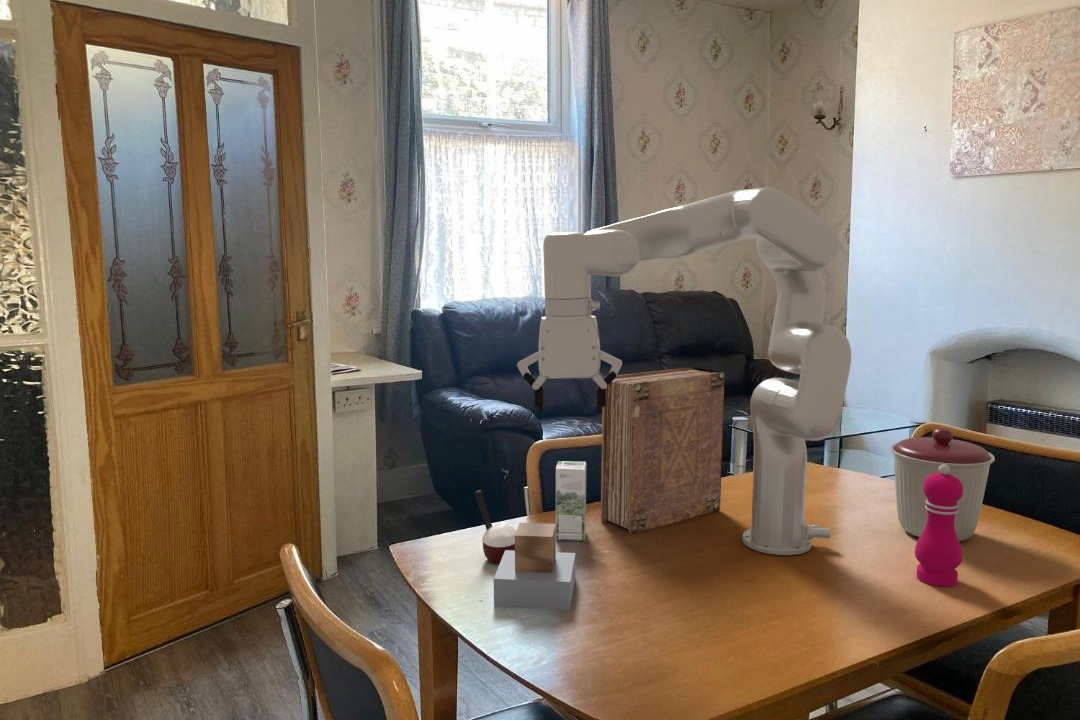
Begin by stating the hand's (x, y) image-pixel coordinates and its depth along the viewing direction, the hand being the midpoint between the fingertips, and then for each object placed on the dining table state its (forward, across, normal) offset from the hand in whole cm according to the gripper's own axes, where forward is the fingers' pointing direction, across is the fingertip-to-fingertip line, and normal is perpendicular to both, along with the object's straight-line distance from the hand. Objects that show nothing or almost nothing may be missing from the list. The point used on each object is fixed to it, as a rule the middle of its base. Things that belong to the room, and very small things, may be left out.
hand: (570, 411), depth 135 cm
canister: (+31, -69, -27) cm, 81 cm away
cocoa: (+29, +14, -6) cm, 32 cm away
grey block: (+29, +6, +7) cm, 30 cm away
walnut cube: (+24, +6, +7) cm, 26 cm away
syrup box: (+29, +2, -19) cm, 35 cm away
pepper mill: (+31, -61, -4) cm, 68 cm away
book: (+30, -16, -32) cm, 47 cm away
